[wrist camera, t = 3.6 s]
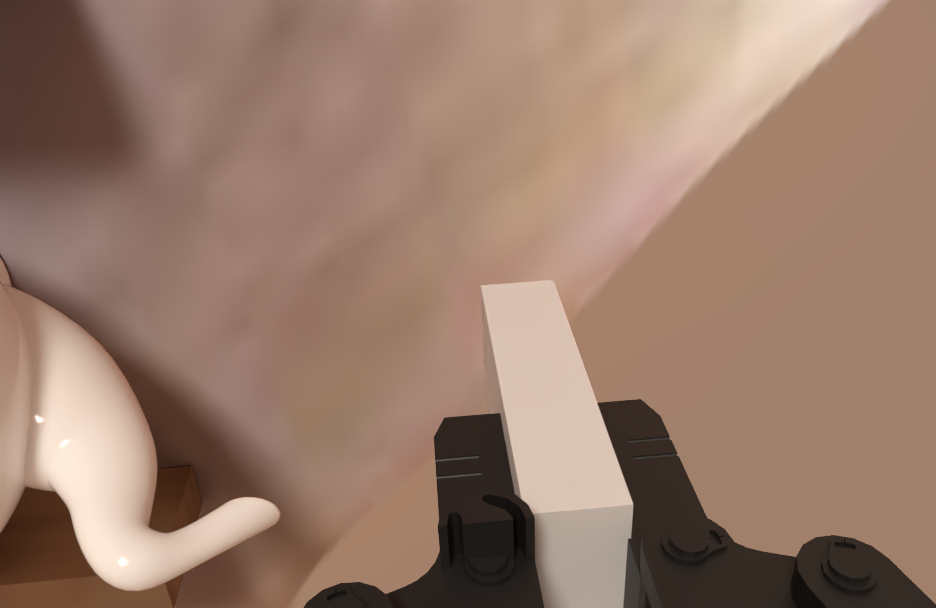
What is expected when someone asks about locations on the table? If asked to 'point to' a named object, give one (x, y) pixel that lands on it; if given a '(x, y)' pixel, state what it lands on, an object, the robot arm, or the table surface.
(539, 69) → the table surface
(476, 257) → the table surface
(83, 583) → the bay
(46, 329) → the teapot
